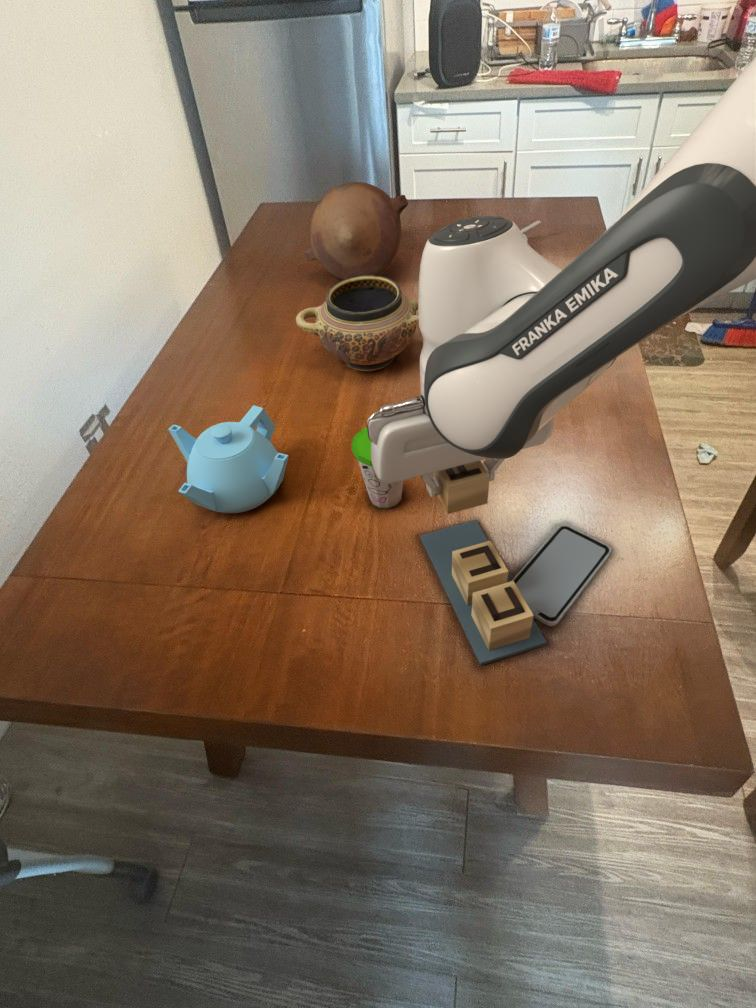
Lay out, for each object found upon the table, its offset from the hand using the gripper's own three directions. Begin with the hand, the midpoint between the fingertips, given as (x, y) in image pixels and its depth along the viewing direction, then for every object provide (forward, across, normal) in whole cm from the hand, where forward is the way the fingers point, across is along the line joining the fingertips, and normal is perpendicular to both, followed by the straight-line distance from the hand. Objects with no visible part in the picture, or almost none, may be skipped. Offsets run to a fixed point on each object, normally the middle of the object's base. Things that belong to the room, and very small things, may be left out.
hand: (460, 485), depth 71 cm
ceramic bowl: (+12, +2, +48) cm, 50 cm away
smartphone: (+12, +10, -8) cm, 18 cm away
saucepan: (+12, +46, +79) cm, 92 cm away
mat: (+11, 0, -7) cm, 13 cm away
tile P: (+2, 0, 0) cm, 2 cm away
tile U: (+11, 0, -7) cm, 13 cm away
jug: (+12, +12, +86) cm, 88 cm away
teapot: (+12, -26, +22) cm, 36 cm away
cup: (+12, -6, +12) cm, 18 cm away
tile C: (+11, 0, -13) cm, 17 cm away
